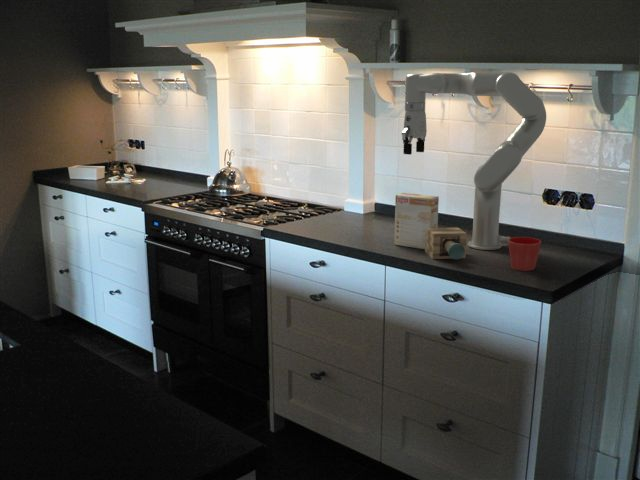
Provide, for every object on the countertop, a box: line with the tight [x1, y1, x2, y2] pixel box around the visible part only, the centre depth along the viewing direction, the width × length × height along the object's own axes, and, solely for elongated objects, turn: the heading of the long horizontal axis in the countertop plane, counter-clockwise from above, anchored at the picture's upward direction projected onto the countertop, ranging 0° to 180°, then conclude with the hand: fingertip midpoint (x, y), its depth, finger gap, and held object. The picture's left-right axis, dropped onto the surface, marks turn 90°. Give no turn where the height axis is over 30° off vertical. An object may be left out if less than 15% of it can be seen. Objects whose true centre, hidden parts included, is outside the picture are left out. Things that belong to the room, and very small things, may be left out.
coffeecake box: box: [393, 192, 440, 250], centre depth 269 cm, size 15×7×20 cm, turn 56°
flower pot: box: [507, 236, 542, 272], centre depth 240 cm, size 11×11×10 cm
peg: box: [443, 239, 465, 260], centre depth 249 cm, size 11×6×6 cm, turn 8°
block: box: [424, 226, 468, 260], centre depth 256 cm, size 10×12×9 cm
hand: (413, 153), depth 270 cm, fingers open, 9 cm apart
